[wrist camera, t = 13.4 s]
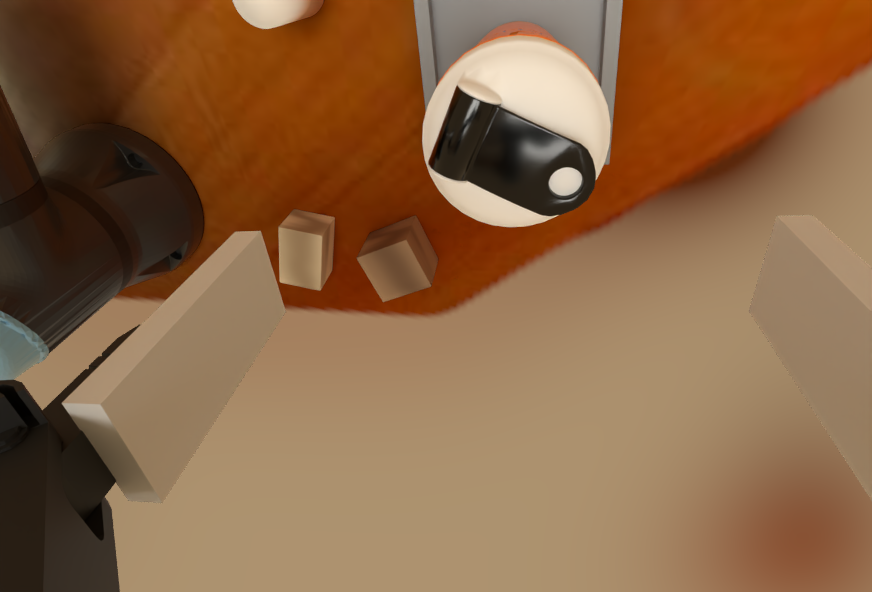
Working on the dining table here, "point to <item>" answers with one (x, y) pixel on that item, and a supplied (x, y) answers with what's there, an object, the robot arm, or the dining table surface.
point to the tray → (536, 3)
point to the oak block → (306, 249)
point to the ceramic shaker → (276, 11)
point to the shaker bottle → (516, 129)
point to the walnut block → (398, 259)
